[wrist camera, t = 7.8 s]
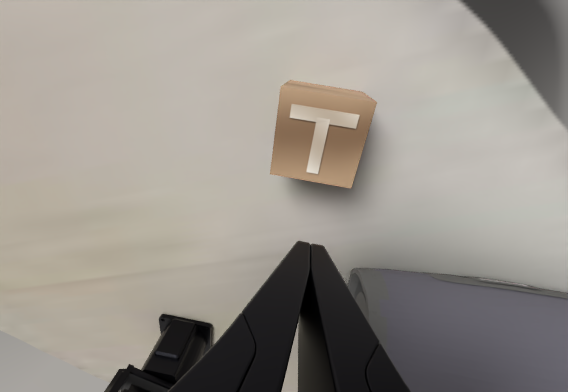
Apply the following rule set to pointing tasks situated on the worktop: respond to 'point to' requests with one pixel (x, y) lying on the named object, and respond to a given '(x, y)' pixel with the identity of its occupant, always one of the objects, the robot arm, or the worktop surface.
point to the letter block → (320, 133)
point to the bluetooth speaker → (466, 331)
